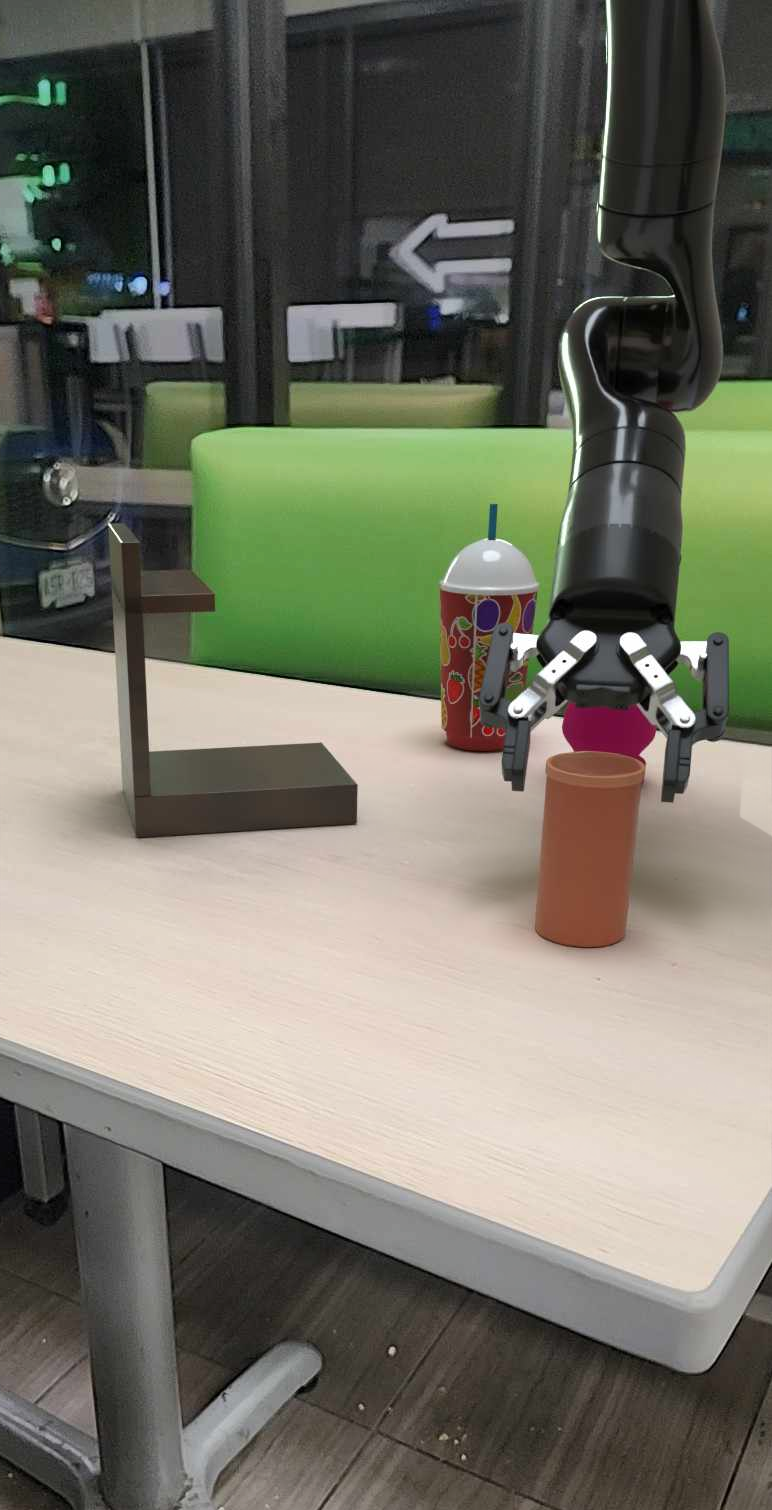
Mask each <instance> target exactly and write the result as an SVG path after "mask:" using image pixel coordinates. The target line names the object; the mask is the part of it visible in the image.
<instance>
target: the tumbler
mask: <svg viewBox="0 0 772 1510" xmlns="http://www.w3.org/2000/svg"><path fill="white" fill-rule="evenodd" d="M544 768H545V770H544V771H545V774H546V779H545V780H546V781H545V791H544V805H543V817H542V829H541V842H540V855H539V866H538V867H539V868H538V878H537V879H538V880H537V881H538V882H537V893H536V905H535V916H534V917H535V918H534V929H535V931H536V933H537V934H538V935H540V936H541V937H542V938H544V939H546V940H549V941H550V942H554V943H557V944H561V945H564V946H572V947H579V948H599V947H605V946H609V945H613V944H616V943H619V942H620V941H622V940H623V938H625V936H626V931H627V923H628V913H629V905H630V904H629V903H630V895H631V894H630V893H631V888H632V887H631V884H632V876H633V869H634V868H633V867H634V858H635V851H636V849H635V848H636V841H637V840H636V839H637V831H638V823H639V813H640V806H641V805H640V804H641V795H642V785H643V784H642V780H643V779H644V780H645V777H644V776H646V768H645V765H644V764H643V763H642V762H641V761H639V760H637V759H634V758H631V757H628V756H624V755H620V754H614V753H607V752H593V751H579V752H574V751H567V752H562V753H558V754H554V755H552V756H550V757H548V758H547V759H546V761H545V767H544Z"/></svg>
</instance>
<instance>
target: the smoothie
mask: <svg viewBox="0 0 772 1510" xmlns="http://www.w3.org/2000/svg"><path fill="white" fill-rule="evenodd" d="M498 505H499V504H498V503H490V504H489V510H488V511H489V513H488V529H487V538H483V539H479V540H476V541H473V542H472V543H470V544H468V545H466V546H465V547H463V548H462V549H461V550H460V551H459V552H458V553H457V554H456V555H455V556H454V558H453V559H452V560H451V562H450V563H449V564H448V567H447V569H446V571H445V574H444V576H443V578H442V579H440V581H439V582H438V588H439V643H440V645H439V647H440V650H439V651H440V713H441V714H440V715H441V716H440V717H441V718H440V719H441V721H440V722H441V726H440V727H441V729H442V730H443V731H444V732H445V734H446V743H448V744H449V745H450V746H452V747H454V748H456V749H459V750H464V751H471V752H493V751H501V750H503V747H504V740H505V732H504V731H503V730H502V729H500V728H497V727H493V728H487V727H484V726H483V725H482V724H481V721H480V709H479V694H480V690H481V685H482V680H483V676H484V671H485V667H486V662H487V657H488V653H489V648H490V644H491V639H492V634H493V630H494V627H495V626H496V625H498V624H499V623H508V624H510V625H511V626H512V627H513V633H520V634H530V635H533V633H534V624H535V615H536V608H537V602H538V601H537V600H538V593H539V589H540V585H541V584H540V582H539V581H537V579H536V576H535V572H534V570H533V569H534V568H533V566H532V564H531V562H530V560H529V559H528V557H527V556H526V555H525V554H524V552H523V551H522V550H521V549H520V548H518V547H517V546H516V545H514V544H512V543H510V542H508V541H506V540H504V539H500V538H496V537H497V524H498V523H497V522H498V521H497V520H498V507H499V506H498ZM529 661H530V657H529V658H527V659H526V660H525V662H524V664H523V666H522V667H521V668H520V669H518V670H517V671H516V672H512V671H510V675H509V680H508V685H507V690H506V695H505V699H507V700H509V701H512V702H513V701H514V700H515V699H516V698H517V697H518V696H519V695H520V694H521V693H522V692H523V691H525V690H526V685H527V676H528V668H529Z"/></svg>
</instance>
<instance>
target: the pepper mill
mask: <svg viewBox="0 0 772 1510" xmlns="http://www.w3.org/2000/svg"><path fill="white" fill-rule="evenodd" d="M561 724H562V725H561V731H562V734H563V737H564V739H565V740H566V742H567V743H568V745H569V746H570V748H571V749H572V752H579V751H593V752H607V753H614V754H620V755H624V756H628V757H631V758H634V759H637V760H639V761H641V762H642V763H643V764H644V765H645V769H646V767H647V762H646V759H644V757H642V756H641V754H642V752H644V750H645V749H647V747H648V746H649V745H650V744H651V743H652V742H653V741H654V739H655V737H656V733H657V726H656V725H652V724H651V723H650V722H649V720H648V719H647V718H646V717H645V715H644V714H643V713H642V711H641V710H640V709H639V708H638V706H637V705H634V706H630V707H628V711H626V710H613V709H610V708H607V707H603V706H599V707H593V708H575V704H574V703H571V702H569V701H568V702H567V705H566V708H565V710H564V713H563V718H562V723H561ZM645 776H646V775H645ZM645 776H644V779H643V780H642V785H643V784H644V782H645Z"/></svg>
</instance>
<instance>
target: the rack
mask: <svg viewBox="0 0 772 1510" xmlns="http://www.w3.org/2000/svg"><path fill="white" fill-rule="evenodd" d="M107 527H108V547H109V564H110V565H109V566H110V581H111V583H110V584H111V599H112V618H113V637H114V639H113V641H114V655H115V656H114V657H115V671H116V672H115V674H116V675H115V677H116V693H117V711H118V728H119V729H118V731H119V747H120V749H119V750H120V767H121V785H122V793H123V796H124V799H125V802H126V807H127V809H128V813H129V816H130V820H131V824H132V827H133V831H134V834H135V837H136V838H138V839H139V838H155V837H168V836H185V835H200V834H216V833H231V832H232V833H233V832H247V831H263V830H264V831H265V830H278V829H281V830H282V829H294V828H309V827H310V828H311V827H312V828H313V827H325V826H326V827H327V826H342V825H356V824H357V823H358V793H359V792H358V788H359V786H358V785H359V784H358V783H357V782H356V780H355V779H354V778H353V777H352V776H351V775H350V773H349V772H348V771H347V770H346V769H345V768H344V766H342V765H341V763H340V762H339V761H338V760H337V758H336V757H335V756H334V755H333V754H332V753H331V751H329V749H328V748H327V747H326V746H325V744H324V743H323V742H308V743H307V742H306V743H305V742H304V743H303V742H302V743H286V744H285V743H284V744H267V745H247V746H232V747H231V746H229V747H228V746H227V747H210V748H191V749H171V750H153V751H151V750H150V741H149V739H150V737H149V717H148V694H147V693H148V692H147V674H146V673H147V672H146V670H147V669H146V649H145V632H144V631H145V629H144V628H145V627H144V615H159V614H160V615H161V614H163V615H164V614H187V613H191V614H192V613H214V612H216V594H215V593H214V591H213V590H212V589H211V588H210V587H209V586H208V585H207V584H206V583H205V582H204V581H203V580H202V579H201V578H200V577H199V575H198V574H197V573H196V572H195V571H194V570H193V569H164V570H163V569H162V570H142V565H141V564H142V563H141V543H140V541H139V539H138V538H137V537H136V535H134V533H133V532H132V531H131V529H130V528H129V527H128V526H127V525H126V523H125V522H109V523H108V524H107Z"/></svg>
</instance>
